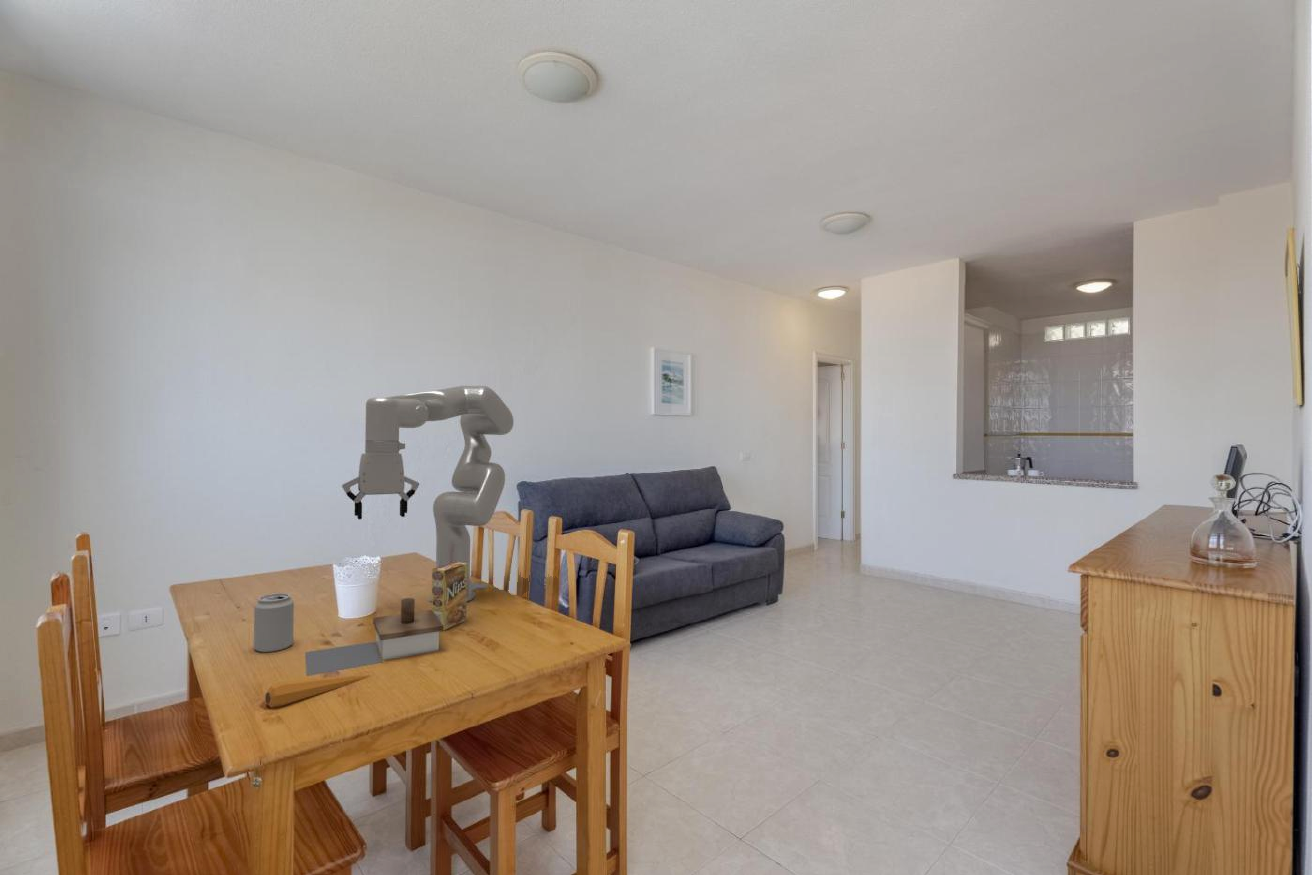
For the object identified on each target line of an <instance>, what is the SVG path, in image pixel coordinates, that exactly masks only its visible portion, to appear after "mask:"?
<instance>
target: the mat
mask: <svg viewBox="0 0 1312 875" xmlns="http://www.w3.org/2000/svg"><path fill="white" fill-rule="evenodd" d="M304 655H305V670H306V672H305V673H306V677H308V676H314V675H319V674H324V673H325V674H327V673H329V672H330V673H331V672H338V671H342V670H348V669H355V668H360V667H364V666H370V665H376V664H383V660H382V657H381V654H380V652H379V649H378V646H377V644H376V640H375V641H374V640H373V641H369V642H362V643H357V644H356V643H355V644H349V645H344V646H343V645H342V646H337V647H330V648H324V649H317V650H311V651H306V652H305V654H304Z"/></svg>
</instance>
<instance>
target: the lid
mask: <svg viewBox="0 0 1312 875" xmlns="http://www.w3.org/2000/svg"><path fill="white" fill-rule="evenodd" d="M415 603H416V602H415V598H412V597H409V598H408V597H407V598H403V599H401V602H400V612H401V613H398V614H391V615H384V616H382V615H381V616H376V617H373V618H372V624H373V626H374V629H375V631H377V634H378V636H379V639H380V641H381V640H387V639H394V638H400V637H407V636H413V635H419V634H426V633H432V632H439V633H440V632H444V630H443V624H442V623H441V622H440V620H439V619H438V618H437V616H436V615H435V613H434V612H433V611H432V609H427V610H419V611H415V607H416V606H415V605H416V604H415Z"/></svg>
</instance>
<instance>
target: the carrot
mask: <svg viewBox="0 0 1312 875" xmlns="http://www.w3.org/2000/svg"><path fill="white" fill-rule="evenodd" d="M371 676H373V674H362V675H361V674H359V675H357V674H356V675H344V676H343V675H342V676H341V675H340V676H334V677H332V676H331V677H321V678H312V679H309V678H308V679H300V680H290V681H289V680H288V681H280V682H277V683H275V684H272V685H270V686H269V688H268V690H267V692H266V694H265V697H264V700H265V703H266V704H267V706H268V707H269V708H271V709H273V708H279V707H284V706H287V705H290V704H293V703H295V702H299V701H301V700H305V699H308V698H311V697H315V696H317V695H320V694H324V693H326V692H327V693H328V692H329V691H333V690H336V689H339V688H341V687H344V686H348V685H350V684H353V683H356V682H358V681H361V680H364V679H366V678H369V677H371Z"/></svg>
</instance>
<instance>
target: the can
mask: <svg viewBox="0 0 1312 875" xmlns="http://www.w3.org/2000/svg"><path fill="white" fill-rule="evenodd" d="M257 600H258V601H257V602H256V603H255V604H254V607H253V608H254V610H253V618H254V619H253V620H254V621H253V649H254V650H255V651H257V652H259V653H273V652H275V653H276V652H279V651H282V650H283V651H284V650H286V649H287V648H289V647H290V646H291V645H293V643H294V624H295V623H294V615H295V614H294V608H295V606H294V604H295V603H294V602H295V601H294V600H293V599H292V598H291V594H290V593H286V592H277V593H269V594H265V595H262V596H260V597H258V599H257Z"/></svg>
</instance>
